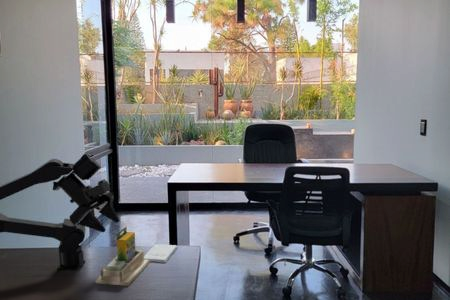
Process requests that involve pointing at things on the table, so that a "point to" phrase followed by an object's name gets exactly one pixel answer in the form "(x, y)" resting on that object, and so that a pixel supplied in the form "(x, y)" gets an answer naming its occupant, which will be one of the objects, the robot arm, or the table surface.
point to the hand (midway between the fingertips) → (111, 226)
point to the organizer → (123, 270)
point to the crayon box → (126, 245)
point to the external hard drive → (160, 253)
